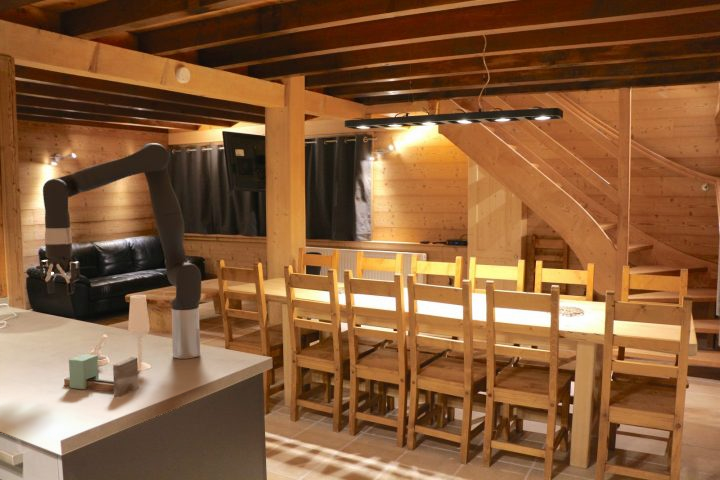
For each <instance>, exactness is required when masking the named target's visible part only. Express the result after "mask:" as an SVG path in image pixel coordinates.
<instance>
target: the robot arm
mask: <svg viewBox="0 0 720 480" xmlns="http://www.w3.org/2000/svg"><path fill="white" fill-rule="evenodd" d="M170 159H171V157H170V152H169V151H168V149H167V148H166V147H164V146H163V145H162V144H160V143H155V142H150V143H146V144H144V145H143V146H142V147H141V148H140V150H138V151H136V152H133V153H131V154H129V155H127V156H124V157H122V158H118V159H115V160H112V161H111V160H110V161H105V162H102V163H98V164H95V165H92V166H89V167H85V168H82V169H79V170H77V171H75V172H73V173H70V174H67V175H64V176H59V177H57V178H50V179H49V180H47V181H45V183H44V184H43V187H42V198H43V204H44V206H43V207H44V211H45V212H44V213H45V214H44V225H45V227H44V228H45V231H44V246H45V247H44V248H45V257H46V258H47V259H44V260H40V261H39V272H40V278H41V280H44V281H45V282H46V291H47V293H48V294H54V293H55V292H56V282H55V278H56V277H57V276H58V275H61V277H63V278H64V279H65V281H66V284H65V285H66V295H73V294H75V291H76V290H75V282H77V281H80V280H81V263H80V262H79V261H72V256H73V240H72V239H73V238H72V229H71V217H70V212H69V198H70V197H73V196H76V195H78V194H81V193H86V192H90V191H92V190H95V189H98V188H101V187H104V186H107V185H110V184H112V183H114V182H117V181H120V180H122V179H126V178H129V177H131V176H135V175H140V174H144V176H145V178H146V179H145V180H146V182H147V186H148V191H149V197H150V202H151V209H152V214H153V219H154V221H155V226H156V229H157V232H158V236H159V241H160V244H161V247H162V251H163V252H162V253H163V255H164V263H165V269H166V271H165V272H166V275H167V276H166V277H167V280H168V282H169V283H170V284H171V285H172V286H174V287H176V288H175V297H174V298H173V299H172V300H171V331H172V332H171V333H172V335H171V336H172V357H173V358H175V359H181V360H182V359H183V360H185V359H192V358H196V357H201V329H200V301H201V298H202V297H201V296H202V274H201V273H202V272H201V270H200V268H199V267H198V266H197V265H196V264H193V263H191V262H188V259H187V256H186V253H185V249H184V237H185V235H184V234H185V221H184V216H183V212H182V208H181V205H180V202H179V200H178V197H177V195H176V193H175V190H174V188H173V186H172V183H171V180H170V175H169V169H168V164H169V163H170Z"/></svg>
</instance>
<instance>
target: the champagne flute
mask: <svg viewBox="0 0 720 480" xmlns="http://www.w3.org/2000/svg"><path fill="white" fill-rule="evenodd" d="M129 299H130V300H129V309H128V310H129V312H128V326H127V329H128V330H127V331H128V334H130V335H131V336H132V337H133V338H134V339H136V340H137V362H138V372H139V371H145V370H149V369H150V368H151V367H152V366H151V365H150V364H148V363H146V362H144V361H143V358H142V357H143V356H142V355H143V353H142V352H143V351H142V339H143V338H145V337H146V336H147V335H148V333H149V331H150V329H151V327H150V319H149V318H150V317H149V309H148V304H147V303H148V302H147V295H145V294H136V295H135V294H133V295H130V297H129Z"/></svg>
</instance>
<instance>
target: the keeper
mask: <svg viewBox="0 0 720 480" xmlns="http://www.w3.org/2000/svg"><path fill="white" fill-rule="evenodd" d="M98 361H99V360H98V355H90V353H89V354H86V353H83V354H80V355H78V356H75V357H72V358H69V359H68V366H69V368H68V369H69V377H70V379H69V380H70V386H69V388H71V389H78V390H86V389H87V384H86V380H87V379H89V378H92V379H99V366H98Z"/></svg>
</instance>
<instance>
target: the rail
mask: <svg viewBox="0 0 720 480" xmlns="http://www.w3.org/2000/svg"><path fill="white" fill-rule="evenodd" d="M112 369H113V370H112V372H113V380H108V379H92V378H89V379H87V380H86V384H87V388H86V389H89V390H97V391H105V392H113V396H116V397H122V396H123V395H125V394H128V393H129V392H131V391H133V390H136V389H137V388H139V371H138V357H134V356H133V357H132V356H131V357H129V358H126V359H124V360H122V361H120V362H118V363H115V364H113V365H112ZM69 379H70V376H68V377H66V378H64V386H66V387H70V380H69Z"/></svg>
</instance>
